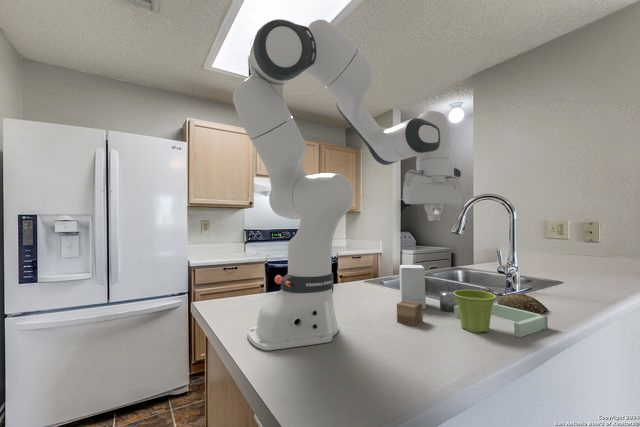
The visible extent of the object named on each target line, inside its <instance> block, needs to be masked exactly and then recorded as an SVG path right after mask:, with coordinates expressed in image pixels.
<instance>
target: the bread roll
mask: <svg viewBox="0 0 640 427" xmlns="http://www.w3.org/2000/svg"><path fill="white" fill-rule="evenodd" d="M496 304H499V305H503V306H507V307H511V308H515V309H520V310H524V311H528V312H532V313H536V314H541V315H544V314H543V313H544V311H545V313H547V312H548V311H549V309H548V308H547V307H546V306H545V305H544V304H543V303H542V302H540V301H539V300H538V299H536V298H535V297H534V296H533V297H532V296H530V295H527V294H525V293H523V292H519V293H516V292H515V293H510V294H504V295H500V297H499V298H498V299H497V302H496Z"/></svg>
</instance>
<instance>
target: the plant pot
mask: <svg viewBox="0 0 640 427" xmlns="http://www.w3.org/2000/svg"><path fill="white" fill-rule="evenodd" d="M452 292H453V294H454V295H455V297H456V301H457V303H458V309H459V314H460V318H459V320H460V324H461V325H460V326H461V328H462V329H465V330H466V331H468V332H471V333H477V334H478V333H481V334H482V333H483V332H484V333H487V332H489V331H490V325H491V317H492V314H491V310H492V305H493V303H494V302H495V299H496V298H497V296H496V295H495V294H494V293H492V292H488V291H483V290H477V289H475V290H474V289H459V290H455V291H452ZM494 304H495V303H494Z"/></svg>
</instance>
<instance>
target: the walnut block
mask: <svg viewBox="0 0 640 427" xmlns="http://www.w3.org/2000/svg"><path fill="white" fill-rule="evenodd" d="M423 310H424V309H423V307H422V303H419V302H414V301H408V300H404V301H402V302H400V301H399V302H398V303H396V322H397V323H399V324H403V325H407V326H412V327H416V326H418V325H419V324H421V323H423V322H424V319H423V318H424V316H423V315H424V314H423V313H424V312H423Z"/></svg>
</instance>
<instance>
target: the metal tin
mask: <svg viewBox="0 0 640 427" xmlns="http://www.w3.org/2000/svg"><path fill="white" fill-rule="evenodd" d="M453 292H454V291H440V292H439V309H440V311H442V312H446V313H454V306H457V305H458V303H457V301H456V297H455V295H454V294H453Z"/></svg>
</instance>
